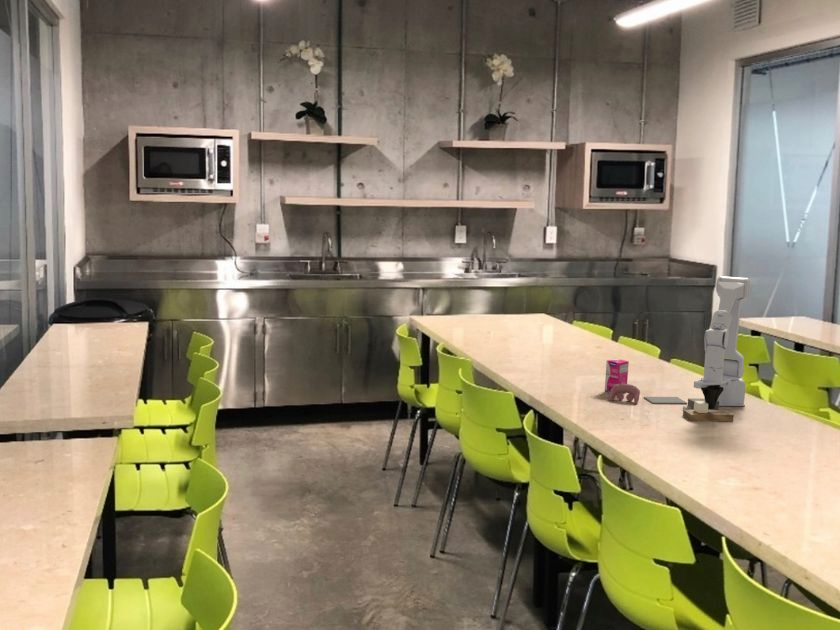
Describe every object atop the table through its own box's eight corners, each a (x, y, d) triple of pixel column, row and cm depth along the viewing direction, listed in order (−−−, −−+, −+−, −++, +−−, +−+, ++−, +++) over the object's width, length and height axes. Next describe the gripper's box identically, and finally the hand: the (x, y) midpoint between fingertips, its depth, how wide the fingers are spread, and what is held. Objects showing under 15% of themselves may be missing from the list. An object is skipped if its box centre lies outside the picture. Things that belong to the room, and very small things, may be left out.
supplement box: (603, 391, 301) (605, 359, 299) (613, 389, 305) (615, 358, 303) (617, 394, 297) (619, 362, 295) (627, 392, 300) (629, 360, 299)
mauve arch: (639, 406, 287) (642, 387, 289) (637, 403, 283) (640, 383, 285) (610, 403, 291) (613, 383, 293) (607, 399, 287) (611, 380, 289)
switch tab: (702, 410, 270) (703, 401, 269) (707, 413, 266) (708, 403, 266) (693, 410, 269) (694, 400, 269) (698, 413, 266) (699, 403, 265)
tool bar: (713, 408, 281) (713, 398, 281) (718, 412, 277) (719, 401, 277) (681, 408, 280) (682, 398, 279) (686, 411, 276) (687, 401, 275)
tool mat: (676, 398, 294) (677, 396, 294) (686, 404, 286) (686, 402, 286) (643, 398, 293) (644, 396, 293) (652, 403, 285) (652, 402, 285)
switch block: (724, 415, 272) (724, 409, 272) (733, 420, 266) (733, 414, 266) (682, 415, 271) (683, 409, 270) (690, 420, 265) (691, 414, 264)
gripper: (719, 362, 273) (716, 403, 275) (687, 365, 266) (684, 407, 268) (737, 366, 267) (733, 408, 269) (705, 370, 260) (701, 413, 262)
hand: (710, 408), depth 268 cm, fingers closed
